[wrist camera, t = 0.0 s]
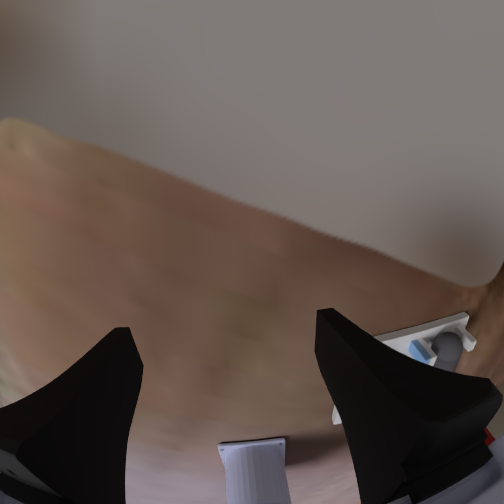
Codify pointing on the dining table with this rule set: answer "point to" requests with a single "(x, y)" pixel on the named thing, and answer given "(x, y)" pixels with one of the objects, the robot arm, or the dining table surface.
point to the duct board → (423, 341)
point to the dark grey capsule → (447, 350)
